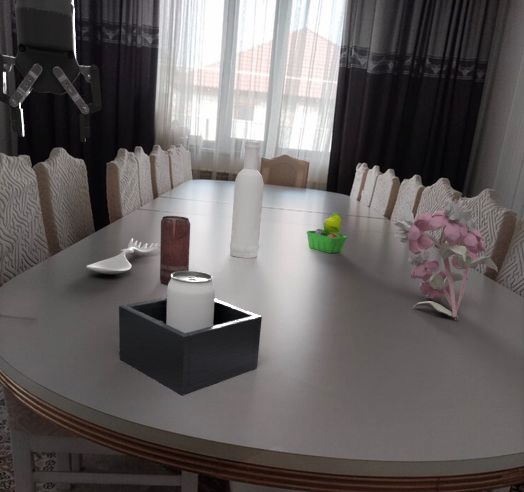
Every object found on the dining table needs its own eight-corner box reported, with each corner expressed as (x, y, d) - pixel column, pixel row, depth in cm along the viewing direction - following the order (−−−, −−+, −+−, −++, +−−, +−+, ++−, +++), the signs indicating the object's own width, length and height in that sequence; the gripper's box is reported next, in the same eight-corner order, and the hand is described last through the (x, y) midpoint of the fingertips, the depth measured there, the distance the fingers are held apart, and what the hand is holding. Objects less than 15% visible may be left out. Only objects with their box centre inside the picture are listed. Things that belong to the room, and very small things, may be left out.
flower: (523, 311, 111) (505, 197, 111) (481, 319, 95) (460, 185, 95) (436, 325, 126) (420, 223, 126) (387, 333, 110) (368, 217, 110)
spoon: (163, 253, 139) (164, 240, 138) (120, 282, 110) (120, 266, 108) (131, 249, 140) (131, 236, 139) (79, 277, 110) (78, 261, 109)
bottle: (247, 259, 141) (257, 141, 130) (224, 254, 144) (231, 138, 133) (263, 255, 147) (273, 142, 136) (240, 250, 151) (248, 140, 140)
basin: (181, 395, 66) (184, 337, 63) (119, 359, 74) (118, 306, 71) (257, 368, 76) (262, 316, 73) (194, 338, 84) (196, 291, 81)
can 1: (160, 286, 110) (161, 219, 105) (159, 278, 116) (160, 214, 110) (189, 287, 111) (191, 221, 106) (186, 279, 117) (189, 216, 112)
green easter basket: (303, 247, 165) (307, 210, 161) (321, 245, 171) (326, 210, 166) (330, 254, 157) (335, 216, 153) (348, 252, 163) (354, 216, 159)
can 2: (209, 348, 78) (213, 270, 73) (212, 366, 72) (217, 283, 68) (165, 348, 77) (167, 268, 72) (165, 366, 71) (167, 281, 66)
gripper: (99, 24, 76) (101, 142, 82) (-9, 7, 72) (3, 133, 78) (100, 15, 70) (103, 144, 76) (-19, -4, 65) (-5, 135, 71)
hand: (52, 138), depth 77 cm, fingers open, 8 cm apart
